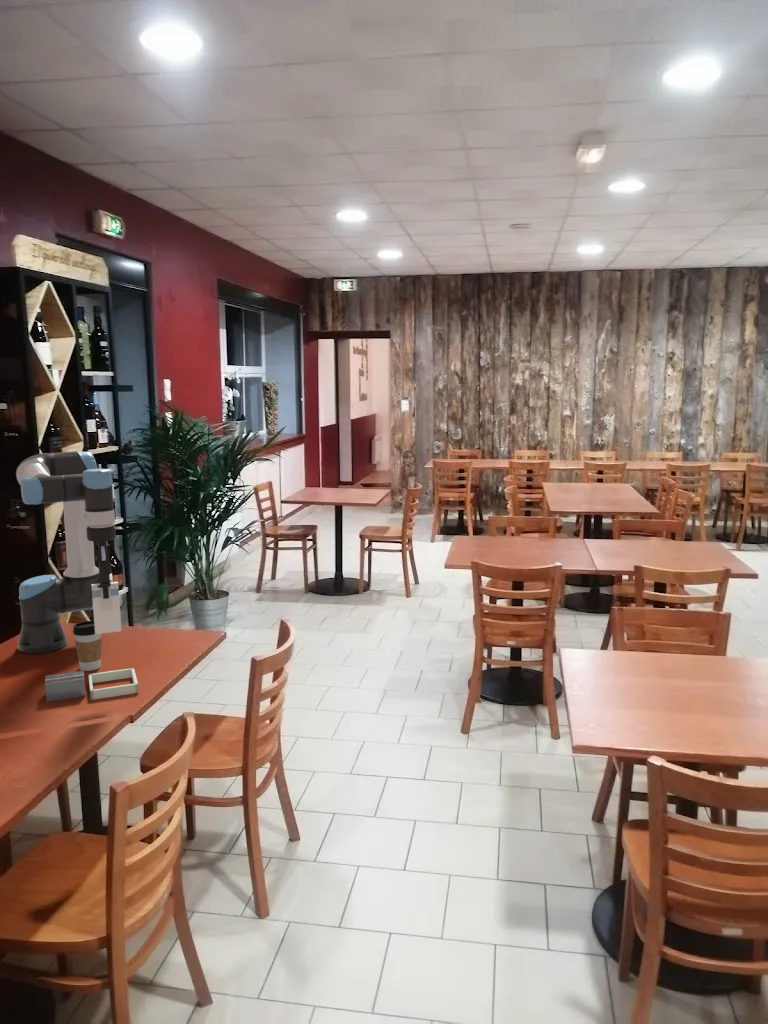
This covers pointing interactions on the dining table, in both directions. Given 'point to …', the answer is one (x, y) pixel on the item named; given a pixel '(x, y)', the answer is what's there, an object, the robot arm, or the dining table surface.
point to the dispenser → (65, 686)
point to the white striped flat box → (106, 611)
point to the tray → (116, 689)
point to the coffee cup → (88, 645)
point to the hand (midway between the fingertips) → (106, 607)
